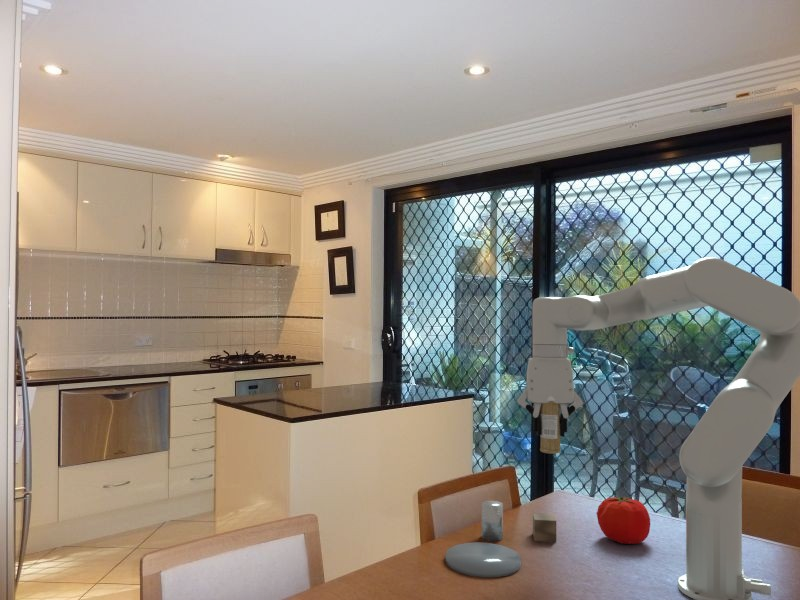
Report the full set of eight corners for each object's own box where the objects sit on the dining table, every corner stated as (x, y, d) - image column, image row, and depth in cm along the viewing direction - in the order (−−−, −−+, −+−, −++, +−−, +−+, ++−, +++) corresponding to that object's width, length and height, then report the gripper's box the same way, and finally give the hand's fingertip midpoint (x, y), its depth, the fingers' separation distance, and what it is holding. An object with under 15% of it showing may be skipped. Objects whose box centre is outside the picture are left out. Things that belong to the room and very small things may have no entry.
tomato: (653, 538, 146) (653, 494, 146) (646, 553, 136) (646, 507, 136) (602, 529, 152) (602, 487, 152) (592, 543, 142) (592, 499, 142)
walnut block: (553, 535, 148) (553, 514, 148) (556, 542, 143) (556, 520, 143) (532, 533, 148) (532, 513, 149) (534, 541, 143) (534, 519, 144)
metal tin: (505, 536, 146) (505, 502, 147) (498, 542, 142) (499, 508, 142) (485, 532, 149) (485, 499, 149) (478, 539, 144) (478, 504, 144)
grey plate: (529, 555, 134) (529, 550, 134) (507, 583, 120) (507, 577, 120) (461, 543, 141) (461, 537, 141) (433, 567, 127) (433, 561, 127)
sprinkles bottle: (564, 451, 135) (563, 390, 136) (555, 455, 132) (555, 392, 132) (544, 449, 138) (544, 389, 139) (536, 452, 134) (535, 391, 135)
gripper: (585, 352, 138) (586, 433, 138) (510, 351, 140) (510, 431, 140) (591, 353, 131) (592, 439, 130) (512, 353, 133) (512, 437, 132)
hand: (550, 434), depth 135 cm, fingers closed on sprinkles bottle, 4 cm apart
